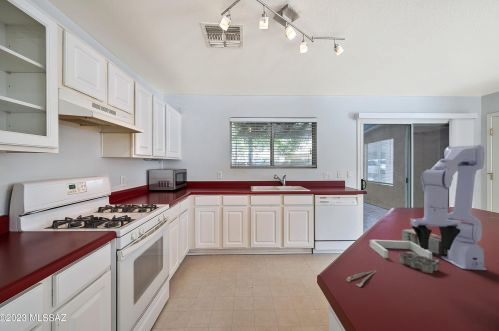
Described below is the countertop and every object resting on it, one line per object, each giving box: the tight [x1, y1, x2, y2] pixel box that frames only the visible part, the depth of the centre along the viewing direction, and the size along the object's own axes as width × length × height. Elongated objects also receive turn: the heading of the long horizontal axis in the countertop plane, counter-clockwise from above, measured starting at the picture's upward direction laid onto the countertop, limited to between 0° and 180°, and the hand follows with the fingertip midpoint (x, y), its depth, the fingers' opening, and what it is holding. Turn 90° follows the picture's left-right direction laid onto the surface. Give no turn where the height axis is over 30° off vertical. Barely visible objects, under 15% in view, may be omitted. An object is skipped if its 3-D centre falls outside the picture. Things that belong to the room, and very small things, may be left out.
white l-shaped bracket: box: [368, 239, 433, 259], centre depth 88 cm, size 12×17×3 cm
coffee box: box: [401, 228, 448, 258], centre depth 92 cm, size 9×6×16 cm
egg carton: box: [397, 251, 439, 274], centre depth 77 cm, size 11×8×4 cm
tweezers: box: [346, 269, 377, 288], centre depth 69 cm, size 17×5×2 cm, turn 125°
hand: (434, 248), depth 68 cm, fingers open, 6 cm apart
